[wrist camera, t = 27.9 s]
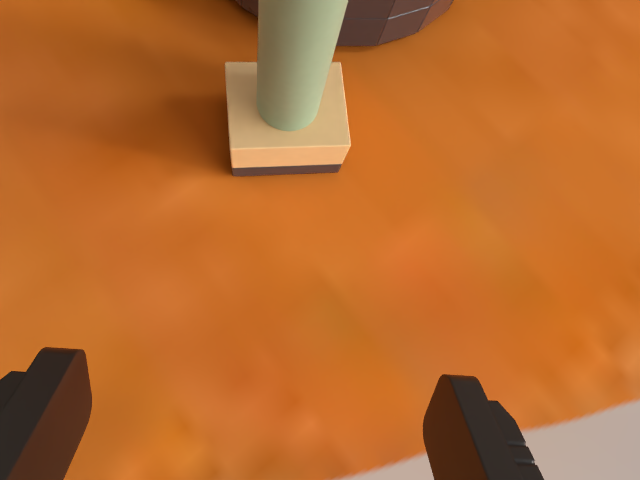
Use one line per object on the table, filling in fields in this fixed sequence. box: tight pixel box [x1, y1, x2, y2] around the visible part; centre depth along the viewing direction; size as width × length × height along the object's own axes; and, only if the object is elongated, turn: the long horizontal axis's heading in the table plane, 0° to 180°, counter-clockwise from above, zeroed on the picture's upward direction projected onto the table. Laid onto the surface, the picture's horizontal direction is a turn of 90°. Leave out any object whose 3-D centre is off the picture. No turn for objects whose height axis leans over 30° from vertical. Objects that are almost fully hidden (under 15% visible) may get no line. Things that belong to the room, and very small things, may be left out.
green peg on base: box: [225, 0, 351, 176], centre depth 17 cm, size 5×4×11 cm
